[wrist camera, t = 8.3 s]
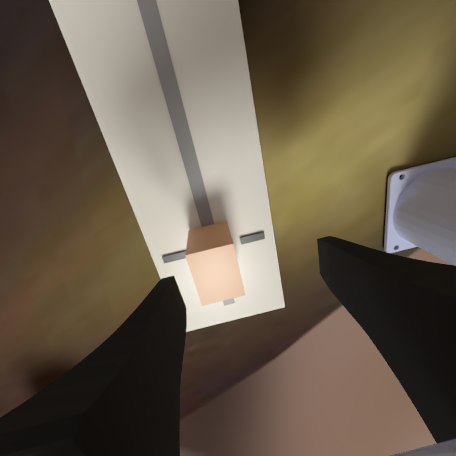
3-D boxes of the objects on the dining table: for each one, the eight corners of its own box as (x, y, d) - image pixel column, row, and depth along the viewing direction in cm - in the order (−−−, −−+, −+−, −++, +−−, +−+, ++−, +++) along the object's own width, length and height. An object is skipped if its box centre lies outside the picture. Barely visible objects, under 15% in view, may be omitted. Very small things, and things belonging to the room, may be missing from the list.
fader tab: (226, 220, 18) (233, 243, 14) (237, 264, 19) (245, 295, 15) (188, 230, 18) (185, 255, 14) (202, 273, 19) (202, 306, 15)
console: (222, -52, 14) (226, -84, 12) (278, 293, 24) (285, 308, 22) (56, -14, 13) (31, -41, 11) (183, 317, 24) (182, 334, 21)
